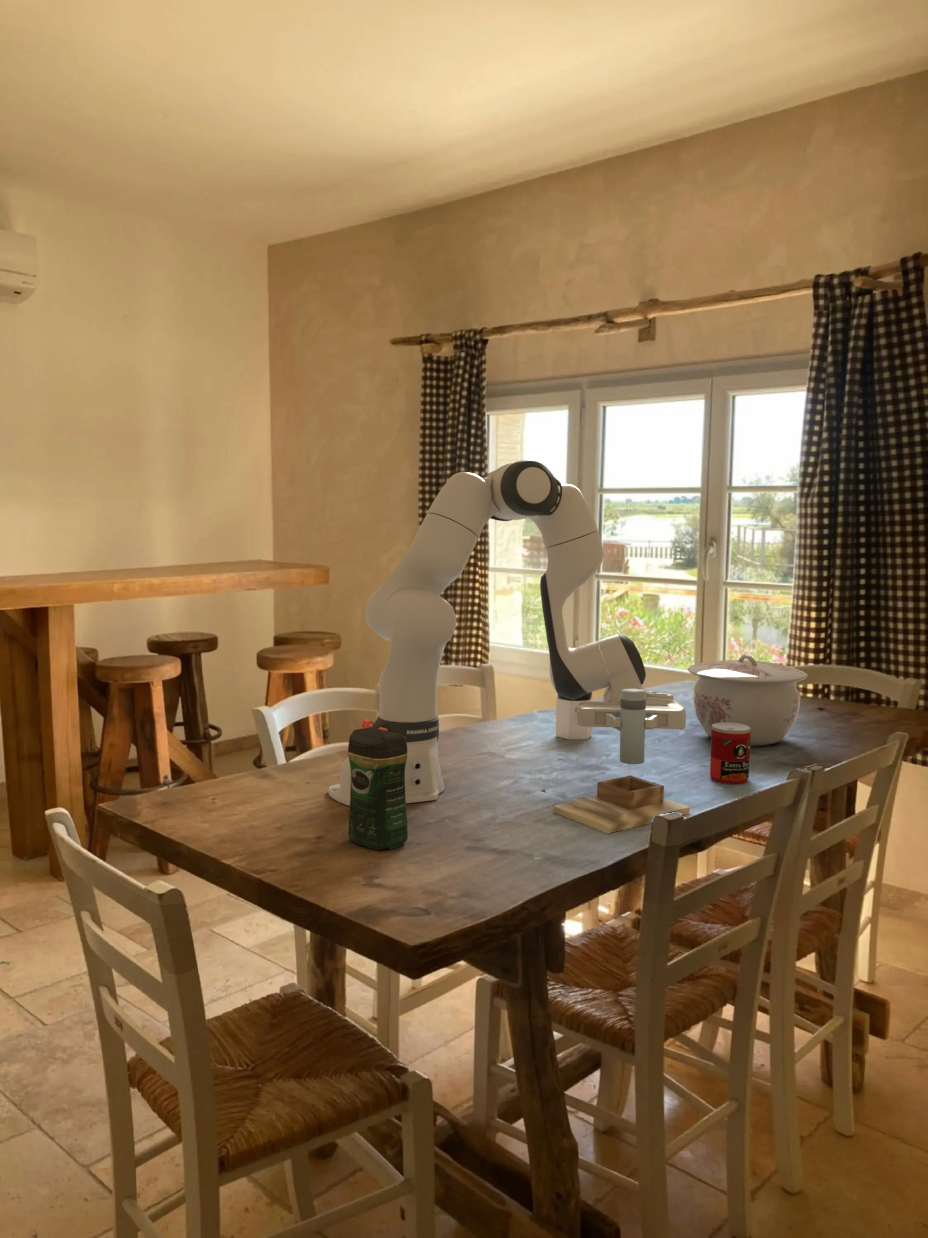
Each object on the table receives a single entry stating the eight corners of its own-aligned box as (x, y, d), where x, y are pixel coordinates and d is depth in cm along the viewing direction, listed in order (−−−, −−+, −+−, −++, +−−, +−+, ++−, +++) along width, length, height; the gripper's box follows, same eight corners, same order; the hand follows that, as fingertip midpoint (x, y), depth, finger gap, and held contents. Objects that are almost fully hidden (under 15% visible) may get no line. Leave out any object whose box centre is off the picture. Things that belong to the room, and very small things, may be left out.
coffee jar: (416, 843, 157) (416, 730, 155) (378, 855, 151) (378, 738, 149) (377, 829, 164) (377, 721, 161) (340, 840, 158) (339, 728, 156)
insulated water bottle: (631, 765, 174) (633, 694, 172) (614, 760, 177) (615, 690, 176) (649, 762, 176) (651, 691, 175) (631, 756, 180) (633, 687, 178)
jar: (599, 737, 232) (600, 688, 231) (575, 742, 227) (576, 691, 226) (572, 730, 239) (573, 682, 238) (548, 735, 234) (549, 686, 233)
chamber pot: (781, 760, 212) (785, 667, 210) (665, 741, 228) (668, 655, 226) (821, 737, 234) (825, 653, 232) (713, 722, 251) (716, 642, 248)
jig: (608, 834, 162) (608, 809, 162) (553, 812, 174) (554, 789, 173) (689, 813, 174) (690, 790, 173) (633, 794, 185) (634, 773, 185)
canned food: (722, 786, 192) (724, 731, 190) (702, 775, 199) (704, 723, 198) (756, 783, 194) (758, 729, 192) (735, 773, 201) (737, 721, 200)
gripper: (574, 691, 189) (575, 706, 176) (680, 694, 187) (690, 708, 174) (574, 723, 190) (575, 740, 176) (679, 726, 188) (689, 743, 174)
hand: (633, 724), depth 175 cm, fingers closed on insulated water bottle, 4 cm apart
